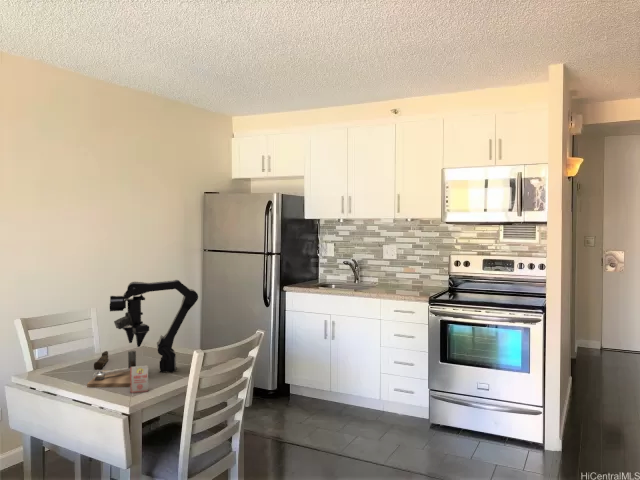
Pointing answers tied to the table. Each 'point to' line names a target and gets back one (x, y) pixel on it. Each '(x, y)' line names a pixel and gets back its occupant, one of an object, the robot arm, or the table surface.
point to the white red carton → (139, 379)
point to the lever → (130, 364)
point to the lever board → (111, 380)
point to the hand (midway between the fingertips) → (134, 344)
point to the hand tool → (101, 361)
